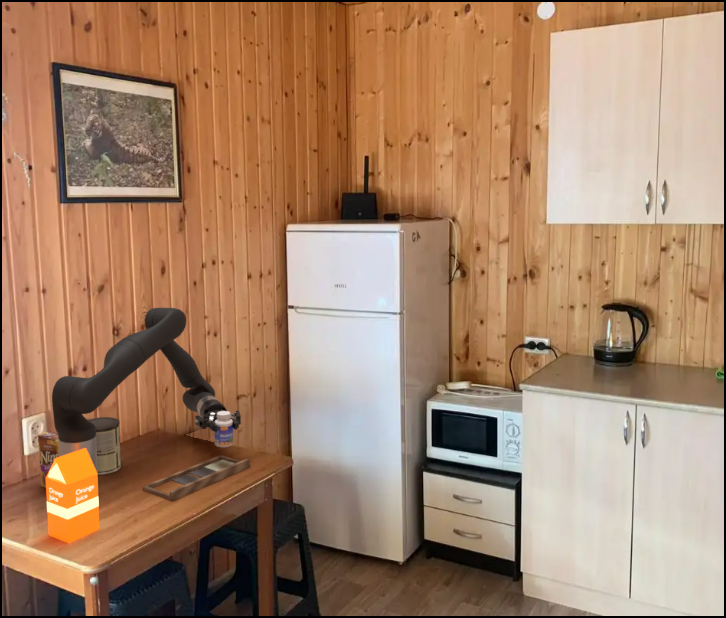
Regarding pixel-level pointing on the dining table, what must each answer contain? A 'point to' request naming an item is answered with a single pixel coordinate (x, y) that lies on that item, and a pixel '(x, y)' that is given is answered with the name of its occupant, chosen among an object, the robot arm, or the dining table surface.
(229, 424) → the pill bottle
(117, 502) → the dining table surface
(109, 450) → the coffee can
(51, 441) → the candy box
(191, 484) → the tray
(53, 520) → the orange juice
